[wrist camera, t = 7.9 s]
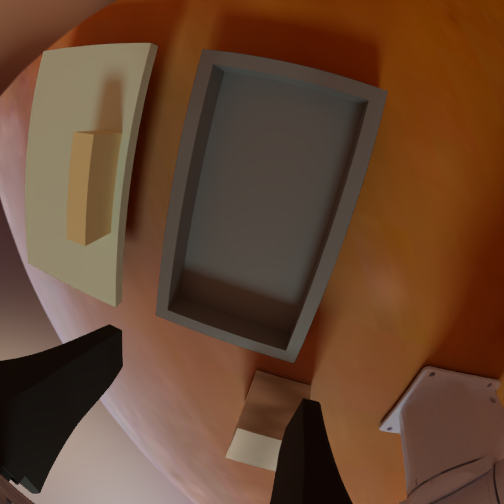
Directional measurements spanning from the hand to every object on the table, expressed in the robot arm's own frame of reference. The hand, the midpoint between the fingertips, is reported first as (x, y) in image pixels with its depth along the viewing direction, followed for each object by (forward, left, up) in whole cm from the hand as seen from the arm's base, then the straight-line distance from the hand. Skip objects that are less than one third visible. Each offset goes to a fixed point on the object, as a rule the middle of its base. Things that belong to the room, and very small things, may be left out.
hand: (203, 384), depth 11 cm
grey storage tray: (+1, -4, -10) cm, 11 cm away
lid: (+13, -4, -8) cm, 16 cm away
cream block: (-4, +10, -10) cm, 15 cm away
